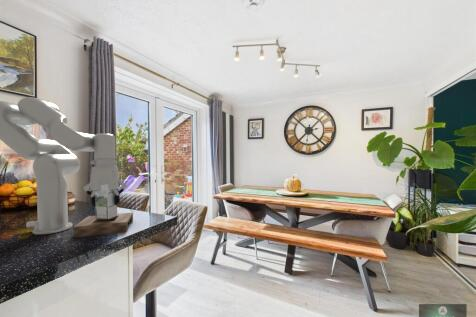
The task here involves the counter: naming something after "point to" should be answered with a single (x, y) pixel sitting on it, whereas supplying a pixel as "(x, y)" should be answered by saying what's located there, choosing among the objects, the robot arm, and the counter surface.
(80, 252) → the counter surface
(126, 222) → the walnut stand
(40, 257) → the counter surface
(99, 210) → the syrup box
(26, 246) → the counter surface
